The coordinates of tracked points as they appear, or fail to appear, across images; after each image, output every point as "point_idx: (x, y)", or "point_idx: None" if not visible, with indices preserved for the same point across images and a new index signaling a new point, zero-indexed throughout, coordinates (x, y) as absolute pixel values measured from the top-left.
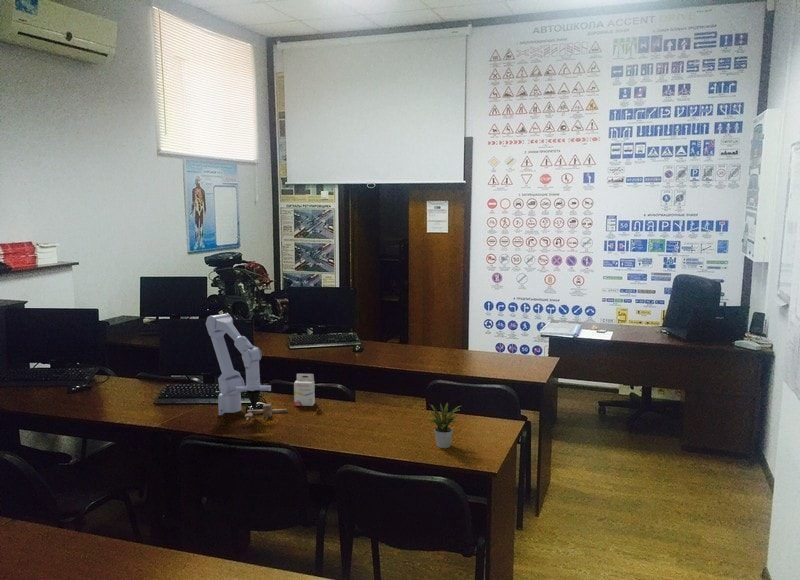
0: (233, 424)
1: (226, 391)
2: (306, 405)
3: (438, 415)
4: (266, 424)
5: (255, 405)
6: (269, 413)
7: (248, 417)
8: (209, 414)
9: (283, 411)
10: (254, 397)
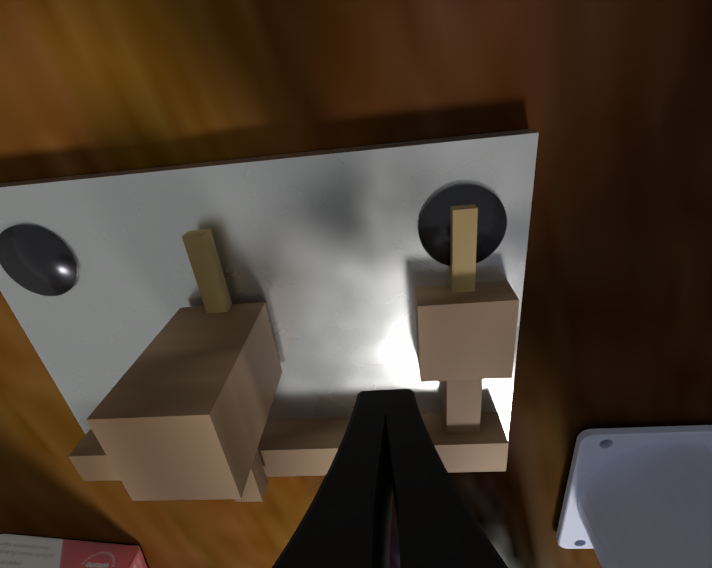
0: (646, 109)
1: None
2: (30, 557)
3: None
4: (159, 114)
5: (349, 424)
6: (168, 333)
7: (457, 289)
8: None
9: None
10: None
